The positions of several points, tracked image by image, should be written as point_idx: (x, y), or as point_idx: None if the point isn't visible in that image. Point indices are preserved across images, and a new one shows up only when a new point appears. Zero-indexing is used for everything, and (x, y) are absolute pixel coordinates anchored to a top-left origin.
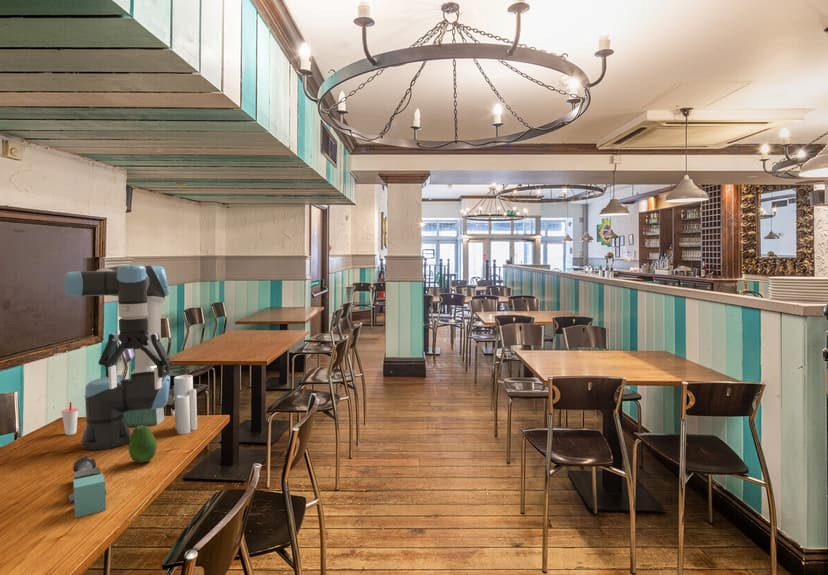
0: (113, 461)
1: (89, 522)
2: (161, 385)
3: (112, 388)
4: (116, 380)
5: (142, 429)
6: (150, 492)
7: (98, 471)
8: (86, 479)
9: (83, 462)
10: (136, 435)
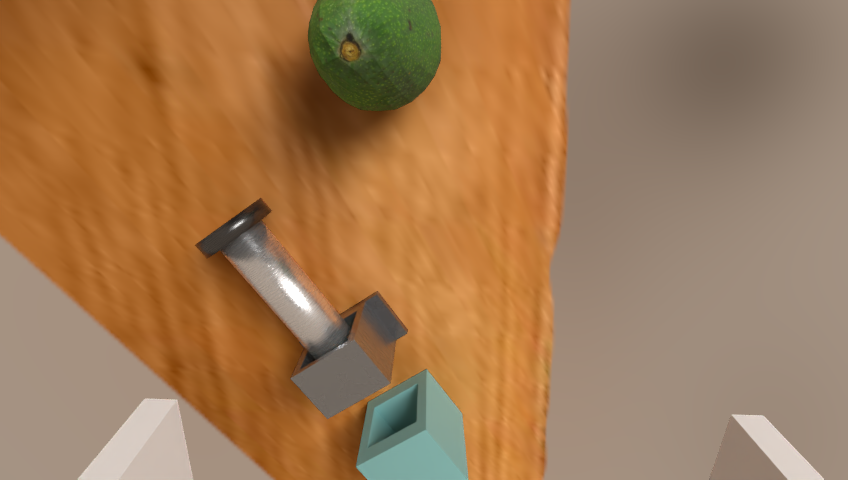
0: (240, 28)
1: None
2: (774, 442)
3: (190, 476)
4: (127, 474)
5: (380, 64)
6: (540, 320)
7: (379, 377)
8: (398, 467)
9: (236, 255)
10: (359, 89)
